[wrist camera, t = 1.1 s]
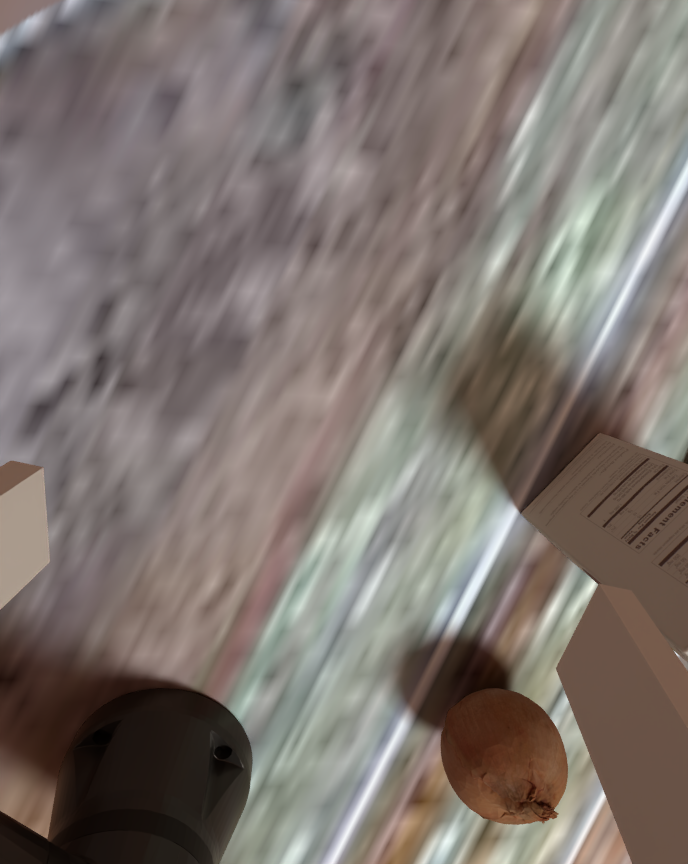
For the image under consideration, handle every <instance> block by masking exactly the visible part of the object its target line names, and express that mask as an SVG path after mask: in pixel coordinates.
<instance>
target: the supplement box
mask: <svg viewBox="0 0 688 864" xmlns="http://www.w3.org/2000/svg"><path fill="white" fill-rule="evenodd" d="M522 516H523V517H524V518H525V519H527V520H528V521H529V522H530V523H531V524H532V525H533V526H534V527H535V528H536V529H537V530H538V531H539V532H540V533H542V534H543V535H544V536H545V537H546V538H547V539H548V540H549V541H550V542H551V543H552V544H553V545H555V546H556V547H557V548H558V549H559V550H560V551H561V552H562V553H563V554H564V555H566V556H567V557H568V558H569V559H570V560H571V561H572V562H573V563H575V564H576V565H577V566H578V567H579V568H580V569H581V570H583V571H584V572H585V573H586V574H587V575H588V576H590V577H591V578H592V579H593V580H594V581H595V582H596V583H597V584H603V585H608V586H613V587H617V588H622V589H627V590H632V592H633V593H634V595H635V596H636V598H637V599H638V600H639V602H640V603H641V605H642V606H643V608H644V609H645V611H646V612H647V613H648V615H649V616H650V618H651V619H652V621H653V622H654V624H655V625H656V626H657V628H658V629H659V631H660V632H661V634H662V635H663V637H664V638H665V639H666V641H667V642H668V644H669V645H670V647H671V648H672V649H673V650H674V651H675V652H676V653H677V654H679V655H680V656H681V657H682V658H683V659H684V660H686V661H687V662H688V464H686V463H683V462H680V461H678V460H675V459H672V458H669V457H666V456H664V455H661V454H658V453H655V452H653V451H650V450H647V449H644V448H641V447H639V446H636V445H633V444H630V443H628V442H625V441H622V440H619V439H617V438H614V437H611V436H608V435H605V434H602V433H599V434H598V435H597V436H596V437H595V438H594V439H593V440H592V441H591V442H590V443H589V444H588V445H587V446H586V447H585V448H584V449H583V450H582V451H581V452H580V453H579V454H578V455H577V456H576V457H575V458H574V459H573V460H572V461H571V462H570V463H569V464H568V465H567V466H566V468H565V469H564V470H563V471H562V472H561V473H560V474H559V475H558V476H557V477H556V478H555V479H554V480H553V481H552V482H551V483H550V484H549V485H548V486H547V487H546V488H545V489H544V490H543V491H542V492H541V493H540V494H539V495H538V496H537V497H536V498H535V499H534V501H533V502H532V503H531V504H530V505H529V506H528V507H527V508H526V509H525V510H524V511H523V512H522Z"/></svg>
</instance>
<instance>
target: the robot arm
mask: <svg viewBox="0 0 688 864" xmlns="http://www.w3.org/2000/svg"><path fill="white" fill-rule="evenodd" d="M49 562H50V556H49V541H48V527H47V513H46V499H45V484H44V470H43V467H39V466H35V465H30V464H25V463H20V462H16V461H10V462H8V463H6V464H4V465H3V466H1V467H0V610H1V609H2V608H3V607H4V606H5V605H6V604H7V603H8V602H9V601H10V600H11V599H12V598H13V597H14V596H15V595H16V594H17V593H18V592H19V591H20V590H21V589H22V588H23V587H24V586H25V585H26V584H28V583H29V582H30V581H31V580H32V579H33V578H34V577H35V576H36V575H37V574H38V573H39V572H40V571H41V570H42V569H43V568H44V567H45V566H46V565H47V564H48V563H49ZM556 670H557V672H558V675H559V677H560V680H561V683H562V685H563V688H564V690H565V693H566V695H567V698H568V700H569V703H570V706H571V708H572V711H573V713H574V716H575V718H576V721H577V723H578V726H579V729H580V731H581V734H582V736H583V739H584V741H585V744H586V746H587V749H588V752H589V754H590V757H591V759H592V762H593V764H594V767H595V769H596V772H597V775H598V777H599V780H600V782H601V785H602V787H603V790H604V792H605V795H606V798H607V800H608V803H609V805H610V808H611V810H612V813H613V815H614V818H615V821H616V823H617V826H618V828H619V831H620V833H621V836H622V838H623V841H624V844H625V846H626V849H627V851H628V854H629V856H630V859H631V861H632V864H688V671H687V670H686V668H685V667H684V665H683V664H682V663H681V661H680V660H679V658H678V657H677V655H676V654H675V652H674V651H673V650H672V648H671V647H670V645H669V644H668V642H667V641H666V639H665V638H664V637H663V635H662V634H661V632H660V631H659V629H658V628H657V626H656V625H655V624H654V622H653V621H652V619H651V618H650V616H649V615H648V613H647V612H646V611H645V609H644V608H643V606H642V605H641V603H640V602H639V600H638V599H637V598H636V596H635V595H634V593H633V592H632V590H627V589H622V588H617V587H613V586H608V585H603V584H599V585H598V587H597V589H596V591H595V593H594V594H593V596H592V598H591V600H590V602H589V604H588V606H587V608H586V610H585V612H584V614H583V616H582V618H581V620H580V622H579V624H578V626H577V628H576V630H575V632H574V634H573V636H572V638H571V640H570V642H569V644H568V646H567V648H566V650H565V652H564V654H563V655H562V657H561V659H560V661H559V663H558V665H557V667H556ZM251 772H252V750H251V746H250V742H249V740H248V737H247V735H246V733H245V731H244V729H243V728H242V726H241V725H240V723H239V722H238V721H237V720H236V718H235V717H234V716H233V715H232V714H231V713H229V712H228V711H227V710H226V709H225V708H223V707H222V706H220V705H219V704H217V703H216V702H214V701H212V700H210V699H208V698H206V697H203V696H201V695H198V694H195V693H191V692H187V691H182V690H175V689H149V690H142V691H138V692H134V693H130V694H127V695H124V696H121V697H119V698H117V699H115V700H113V701H111V702H109V703H107V704H105V705H104V706H102V707H101V708H100V709H98V710H97V711H96V712H95V713H93V714H92V715H91V716H90V717H89V718H88V719H87V720H86V722H85V723H84V724H83V725H82V727H81V728H80V730H79V731H78V733H77V735H76V737H75V739H74V740H73V742H72V744H71V746H70V748H69V750H68V751H67V753H66V755H65V757H64V760H63V762H62V765H61V768H60V771H59V775H58V781H57V787H56V792H55V798H54V804H53V810H52V816H51V822H50V828H49V833H48V839H46V838H44V837H43V836H41V835H39V834H38V833H36V832H34V831H33V830H31V829H29V828H28V827H26V826H24V825H23V824H21V823H19V822H18V821H16V820H15V819H13V818H11V817H10V816H8V815H6V814H5V813H3V812H1V811H0V864H219V863H220V861H221V859H222V856H223V854H224V852H225V850H226V848H227V845H228V843H229V841H230V839H231V837H232V834H233V832H234V830H235V828H236V825H237V823H238V821H239V819H240V817H241V814H242V812H243V810H244V807H245V805H246V802H247V798H248V794H249V789H250V781H251Z"/></svg>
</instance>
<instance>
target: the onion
mask: <svg viewBox="0 0 688 864" xmlns="http://www.w3.org/2000/svg"><path fill="white" fill-rule="evenodd" d="M441 756H442V762H443V766H444V769H445V772H446V775H447V777H448V780H449V782H450V784H451V786H452V788H453V789H454V791H455V792H456V794H457V795H458V797H459V798H460V799H461V800H462V802H463V803H465V804H466V805H467V806H468V807H469V808H470V809H471V810H473V811H474V812H476V813H477V814H479V815H480V816H481V817H482V818H485V819H489V820H492V821H495V822H499V823H503V824H517V825H518V824H526V823H529V824H530V823H532V822H535V821H542V823H543V824H544V823H545V822H544V821H547V820H549V818H552V819H554V818H556V817H557V815H558V813H557V812H555V811H553V810H554V809H555V807H556V806H557V805H558V803H559V801H560V799H561V798H562V796H563V794H564V792H565V789H566V784H567V777H568V764H567V757H566V753H565V749H564V745H563V742H562V739H561V736H560V734H559V732H558V730H557V728H556V726H555V724H554V723H553V721H552V720H551V719H550V717H549V716H548V715H547V714H546V712H545V711H544V710H543V709H542V708H541V707H540V706H539V705H537V704H536V703H535V702H533V701H532V700H530V699H529V698H527V697H525V696H523V695H522V694H520V693H517V692H513V691H509V690H504V689H499V688H489V689H483V690H482V689H481V690H480V691H476V692H474V693H471V694H469V695H467V696H466V697H464V698H463V699H462V700H461V701H460V702H458V703H457V704H456V705H455V706H453V707H452V708H451V709H449V710H448V712H447V716H446V719H445V725H444V729H443V731H442V734H441Z"/></svg>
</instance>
